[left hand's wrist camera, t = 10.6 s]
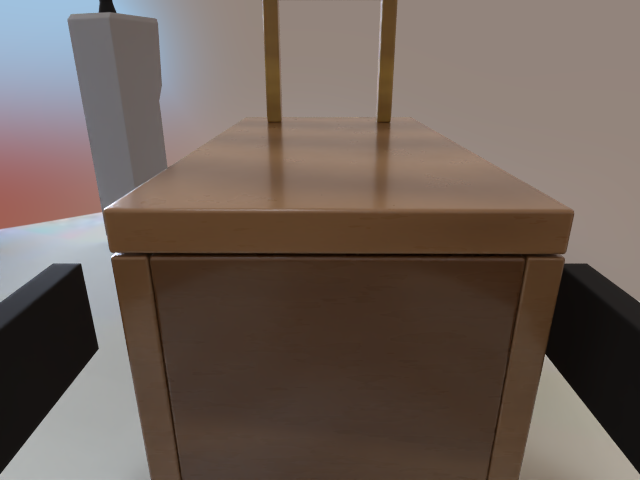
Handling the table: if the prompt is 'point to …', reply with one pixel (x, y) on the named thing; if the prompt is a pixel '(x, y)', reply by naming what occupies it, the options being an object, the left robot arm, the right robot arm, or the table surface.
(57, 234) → the table surface
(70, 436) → the table surface
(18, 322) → the left robot arm
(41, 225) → the table surface
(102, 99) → the vintage mobile phone
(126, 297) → the chest
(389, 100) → the lid
